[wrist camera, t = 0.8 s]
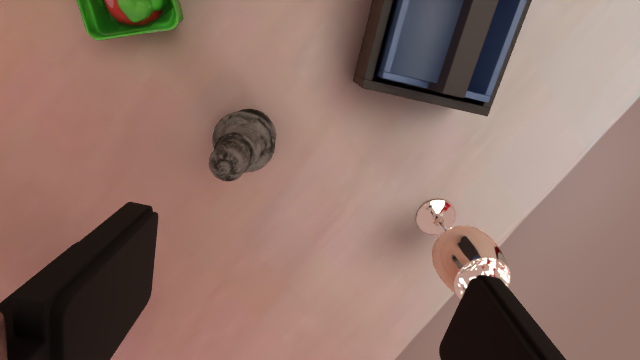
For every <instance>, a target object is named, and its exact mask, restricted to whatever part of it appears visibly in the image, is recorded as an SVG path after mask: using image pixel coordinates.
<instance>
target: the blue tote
mask: <svg viewBox="0 0 640 360" xmlns="http://www.w3.org/2000/svg"><path fill="white" fill-rule="evenodd" d="M526 1H527V0H393V3H392V7H391V10H390V14H389V18H388V22H387V26H386V30H385V34H384V37H383V41H382V45H381V49H380V53H379V57H378V60H377V64H376V68H375V72H374V75H375V76H378V77H381V78H384V79H388V80H393V81H397V82H401V83H406V84H410V85H414V86H419V87H423V88H427V89H430V90H434V91H436V92H440V93H443V94H447V95H451V96H456V97H460V98H465V97H466V98H470V99H475V100H479V101H483V102H489V100H490V97H491V94H492V92H493V89H494V86H495V84H496V81H497V78H498V76H499V73H500V70H501V68H502V65H503V63H504V60H505V57H506V55H507V52H508V49H509V47H510V44H511V41H512V39H513V36H514V33H515V31H516V28H517V25H518V23H519V20H520V17H521V15H522V12H523V9H524V7H525V4H526Z"/></svg>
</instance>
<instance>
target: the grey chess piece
mask: <svg viewBox="0 0 640 360" xmlns="http://www.w3.org/2000/svg"><path fill="white" fill-rule="evenodd" d="M275 139H276V133H275V128H274V125H273V123H272V122H271V120H270V119H269V118H268V117H267V116H266V115H265V114H264V113H262V112H260V111H257V110H253V109H244V110H241V111H238V112H234V113H231V114H228V115H226V116H225V117H224V118H222V119H221V120H220V121H219V123H218V124H217V125H216V127H215V130H214V133H213V146H214V150H213V152H212V153H211V155H210V158H209V167H210V170H211V172H212V173H213V175H214V176H215V177H217V178H218V179H220V180H222V181H233V180H236V179H238V178H239V177H240V176H241V175H242V174H243V173H244V172H253V171H255V170H258V169H260V168H262V167H263V166H265V165H266V164H267V163H268V162H269V160H270V159H271V157H272V155H273V153H274V149H275Z"/></svg>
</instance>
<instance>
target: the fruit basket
mask: <svg viewBox="0 0 640 360" xmlns="http://www.w3.org/2000/svg"><path fill="white" fill-rule="evenodd" d="M77 3H78V6H79V9H80V12H81V15H82V19H83V22H84V25H85V28H86V31H87V33H88V34H89V35H90V36H91V37H92V38H94V39H96V40H106V39H111V38H118V37H124V36H130V35H137V34H145V33H152V32H161V31H169V30H172V29H174V28H175V27H176V26H177V24H178V23H179V22H180V21H181V20H183V14H182V10H181V6H180V3H179V1H178V0H77Z"/></svg>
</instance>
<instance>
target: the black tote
mask: <svg viewBox="0 0 640 360" xmlns="http://www.w3.org/2000/svg"><path fill="white" fill-rule="evenodd" d="M531 1H532V0H527V1H526V4H525V7H524V9H523V12H522V15H521V17H520V20H519V23H518V25H517V28H516V31H515V33H514V36H513V39H512V41H511V44H510V47H509V49H508V52H507V55H506V57H505V60H504V63H503V65H502V68H501V70H500V73H499V76H498V78H497V81H496V84H495V86H494V89H493V92H492V94H491V97H490V100H489V102H483V101H479V100H475V99H470V98H466V97H465V98H460V97H456V96H451V95H447V94H443V93H440V92H436V91H434V90H430V89H427V88H423V87H419V86H414V85H410V84H406V83H401V82H397V81H393V80H388V79H384V78H381V77H378V76H375V75H374V72H375V68H376V64H377V60H378V57H379V53H380V49H381V45H382V41H383V37H384V34H385V30H386V26H387V22H388V18H389V14H390V10H391V7H392V3H393V0H372V4H371V9H370V13H369V17H368V21H367V25H366V29H365V33H364V37H363V42H362V46H361V50H360V54H359V58H358V62H357V66H356V70H355V74H354V79H353V81H354V82H355V83H357V84H358V85H359V86H361V87H362V88H365V89H370V90H374V91H379V92H383V93H387V94H392V95H396V96H401V97H405V98H409V99H414V100H418V101H423V102H427V103H431V104H436V105H440V106H445V107H449V108H453V109H458V110H462V111H467V112H471V113H475V114H480V115H484V116H488V114H489V111H490V108H491V106H492V103H493V101H494V98H495V95H496V93H497V90H498V87H499V85H500V82H501V79H502V77H503V74H504V72H505V69H506V66H507V64H508V61H509V58H510V56H511V53H512V51H513V48H514V45H515V43H516V40H517V37H518V35H519V32H520V30H521V27H522V24H523V22H524V19H525V16H526V14H527V11H528V9H529V6H530V3H531Z"/></svg>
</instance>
